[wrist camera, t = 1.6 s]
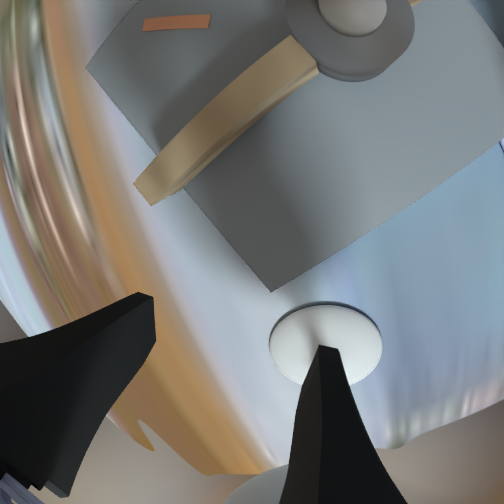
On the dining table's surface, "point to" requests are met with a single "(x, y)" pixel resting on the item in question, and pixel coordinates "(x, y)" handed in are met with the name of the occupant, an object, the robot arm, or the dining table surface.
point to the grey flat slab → (308, 122)
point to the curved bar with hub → (285, 79)
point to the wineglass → (298, 363)
